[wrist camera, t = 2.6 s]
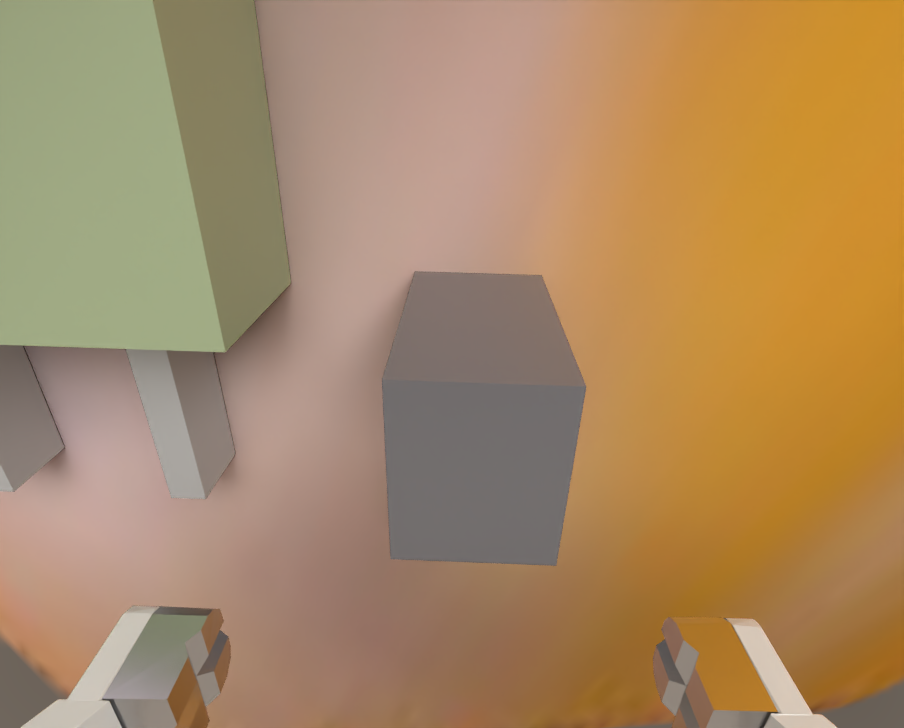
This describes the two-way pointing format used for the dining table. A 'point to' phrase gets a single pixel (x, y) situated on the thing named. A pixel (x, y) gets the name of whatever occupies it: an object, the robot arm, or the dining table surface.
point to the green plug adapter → (134, 213)
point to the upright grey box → (479, 421)
